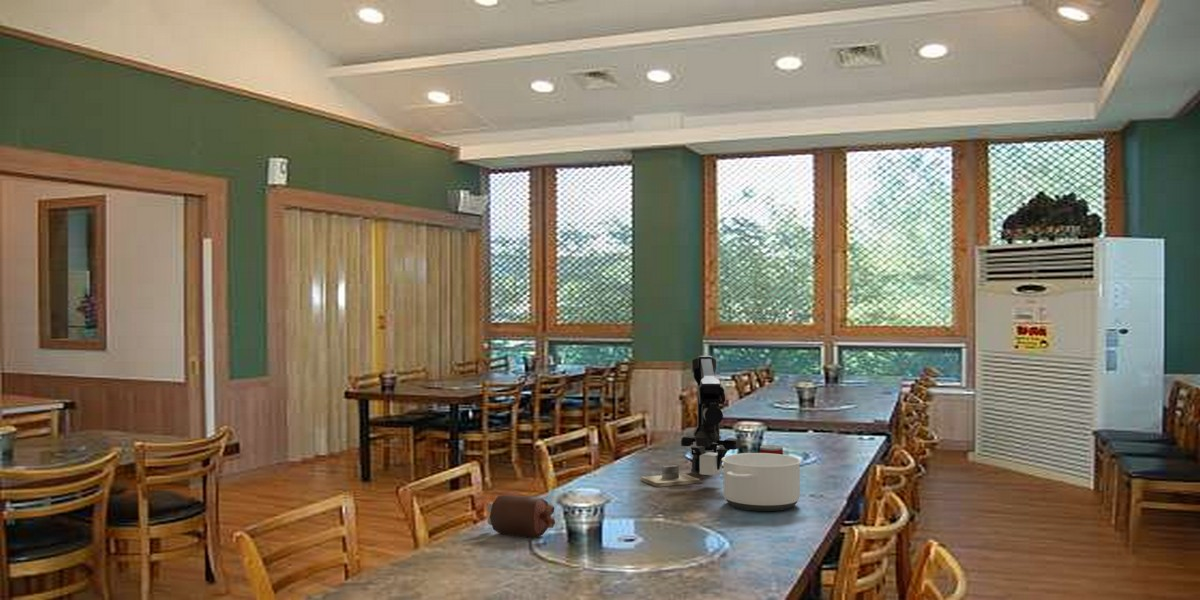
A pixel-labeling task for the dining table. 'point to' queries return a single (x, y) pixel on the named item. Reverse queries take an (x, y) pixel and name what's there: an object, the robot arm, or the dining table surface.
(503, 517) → the meat
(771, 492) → the pot
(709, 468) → the white rounded cube
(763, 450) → the canned food
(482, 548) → the dining table surface
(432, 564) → the dining table surface
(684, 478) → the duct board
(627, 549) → the dining table surface
